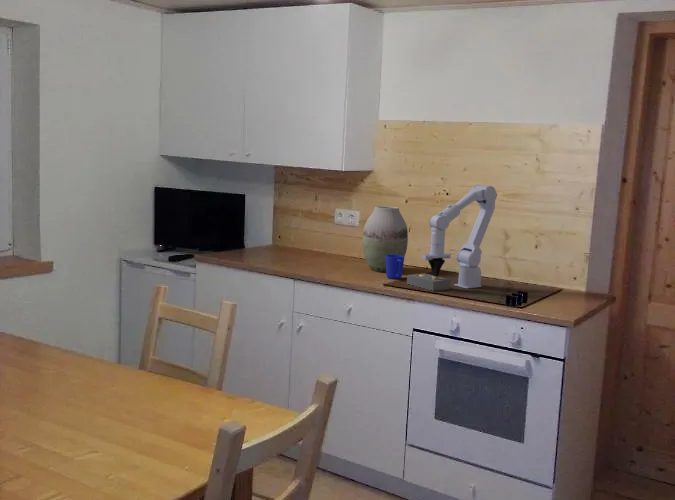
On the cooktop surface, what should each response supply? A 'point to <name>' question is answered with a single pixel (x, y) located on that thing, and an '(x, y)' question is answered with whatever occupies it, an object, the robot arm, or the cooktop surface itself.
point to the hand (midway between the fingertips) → (435, 276)
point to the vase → (384, 236)
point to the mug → (394, 266)
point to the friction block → (428, 282)
